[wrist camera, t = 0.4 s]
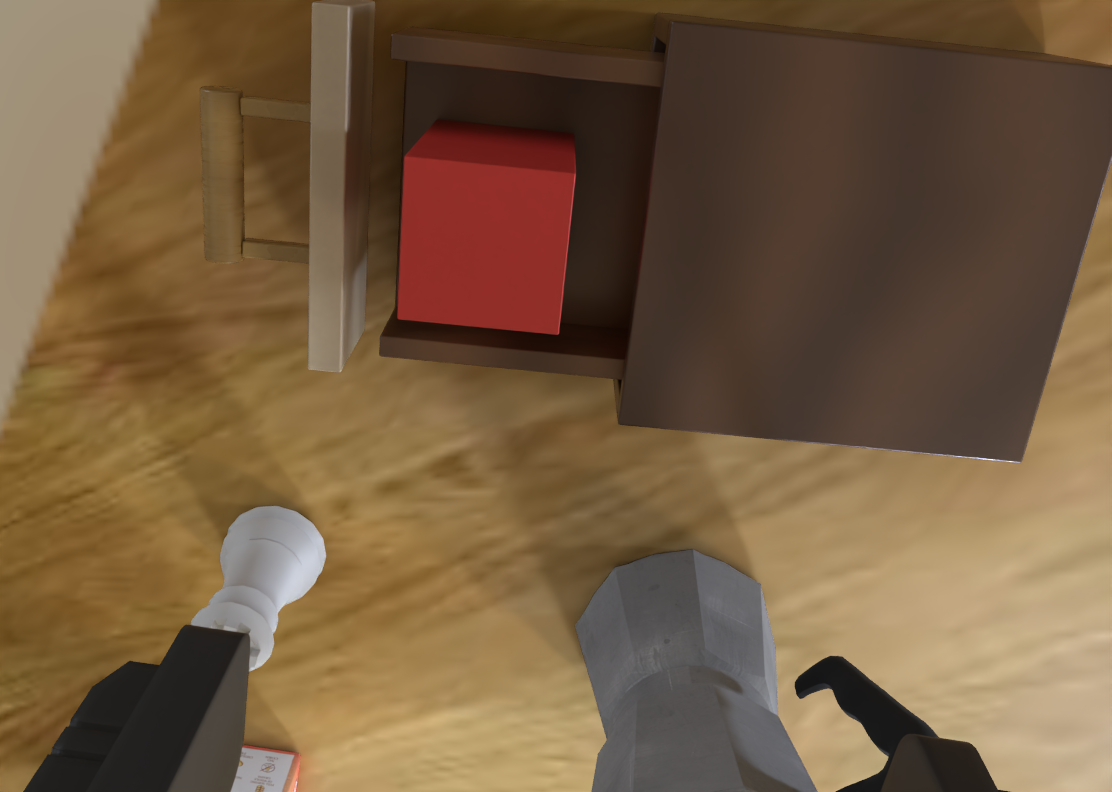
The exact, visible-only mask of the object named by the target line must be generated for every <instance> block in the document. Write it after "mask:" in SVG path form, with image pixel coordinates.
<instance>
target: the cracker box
mask: <svg viewBox="0 0 1112 792" xmlns="http://www.w3.org/2000/svg"><path fill="white" fill-rule="evenodd" d="M299 766H300V754H299V753H295V752H288V751H281V750H273V749H267V748H260V747H254V746H247V745H243V746H242V752H241V757H240V761H239V766H238V770H237V773H236V777H235V780H234V783H233V786H232V789H231V792H296V790H297V783H298V774H299Z"/></svg>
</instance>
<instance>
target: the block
mask: <svg viewBox="0 0 1112 792" xmlns="http://www.w3.org/2000/svg"><path fill="white" fill-rule="evenodd" d="M575 178H576V165H575V135H574V133H568V132H558V131H548V130H539V129H529V128H519V127H509V126H500V125H490V124H480V123H471V122H461V121H451V120H442V119H437V120H436V121H435V122H434V123H433V124H432V125H431V127H430V128H429V129H428V130H427V131H426V132H425V133H424V135H423V136H422V137H421V138H420V139H419V140H418V142H417V143H416V144H415V145H414V146H413V147H412V148H411V150H410V151H409V152H408V153H407V154H406V155H405V157H404V175H403V198H402V221H401V244H400V266H399V289H398V312H397V318H398V319H401V320H412V321H422V322H432V323H442V324H453V325H463V326H473V327H483V328H493V329H504V330H514V331H524V332H534V333H544V334H555V335H558V334H559V329H560V319H561V310H562V301H563V291H564V282H565V272H566V263H567V253H568V244H569V235H570V225H571V216H572V206H573V197H574V187H575Z"/></svg>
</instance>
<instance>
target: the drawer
mask: <svg viewBox="0 0 1112 792" xmlns="http://www.w3.org/2000/svg"><path fill="white" fill-rule="evenodd" d="M374 26H375V2H374V1H368V0H325V1H317V2H313V3H312V30H311V103H308V102H298V101H289V100H279V99H269V98H260V97H250V96H245V97H243V92H242V90H241V89H238V88H234V87H226V86H204V87H201V88H200V112H201V147H202V182H203V217H204V253H205V258H206V260H208V261H211V262H215V263H224V264H229V263H237V262H241V261H243V260H244V259H245V257H248V258H258V259H268V260H278V261H288V262H298V263H308V264H309V319H308V369H310V370H319V371H330V372H341V371H342V369H343V367H344V365H345V364H346V362H347V360H348V358H349V357H350V355H351V353H352V351H353V349H354V348H355V346H356V344H357V342H358V341H359V339H360V337H361V335H362V333H363V332H364V330H365V308H366V276H367V245H368V214H369V182H370V151H371V120H372V88H373V57H374ZM664 58H665V53H658V52H648V51H639V50H629V49H620V48H610V47H601V46H591V45H582V44H573V43H563V42H554V41H544V40H535V39H525V38H516V37H506V36H497V35H487V34H478V33H468V32H459V31H449V30H440V29H430V28H421V27H410V28H406V29H404V30H401V31H398V32H396V33H393V34H392V35H391V59H393V60H402V61H406V68H405V91H404V114H403V137H402V161H401V184H400V207H399V230H398V253H397V277H396V300H395V309H394V310H393V312H392V314H391V316H390V318H389V320H388V322H387V324H386V326H385V328H384V330H383V332H382V334H381V336H380V350H379V355H380V356H383V357H393V358H404V359H414V360H424V361H435V362H445V363H455V364H466V365H476V366H486V367H496V368H507V369H517V370H527V371H538V372H548V373H558V374H569V375H579V376H589V377H600V378H610V379H620V380H622V375H623V368H624V360H625V352H626V345H627V337H628V330H629V322H630V315H631V307H632V300H633V292H634V284H635V277H636V269H637V262H638V254H639V247H640V239H641V232H642V224H643V216H644V209H645V201H646V194H647V186H648V179H649V171H650V164H651V156H652V148H653V141H654V133H655V126H656V118H657V111H658V103H659V96H660V88H661V80H662V73H663V65H664ZM243 116H251V117H261V118H271V119H281V120H290V121H300V122H310V123H311V126H310V222H309V244H304V243H294V242H284V241H274V240H264V239H254V238H246V239H245V219H244V145H243ZM437 119H442V120H451V121H461V122H471V123H480V124H490V125H500V126H509V127H519V128H529V129H539V130H548V131H558V132H568V133H574V135H575V165H576V178H575V187H574V197H573V206H572V216H571V225H570V235H569V244H568V253H567V263H566V272H565V282H564V291H563V301H562V310H561V319H560V329H559V334H558V335H555V334H544V333H534V332H524V331H514V330H504V329H493V328H483V327H473V326H463V325H453V324H442V323H432V322H422V321H412V320H401V319H398V318H397V312H398V289H399V266H400V244H401V221H402V198H403V175H404V157H405V155H406V154H407V153H408V152H409V151H410V150H411V148H412V147H413V146H414V145H415V144H416V143H417V142H418V140H419V139H420V138H421V137H422V136H423V135H424V133H425V132H426V131H427V130H428V129H429V128H430V127H431V125H432V124H433V123H434V122H435V121H436V120H437Z"/></svg>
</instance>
